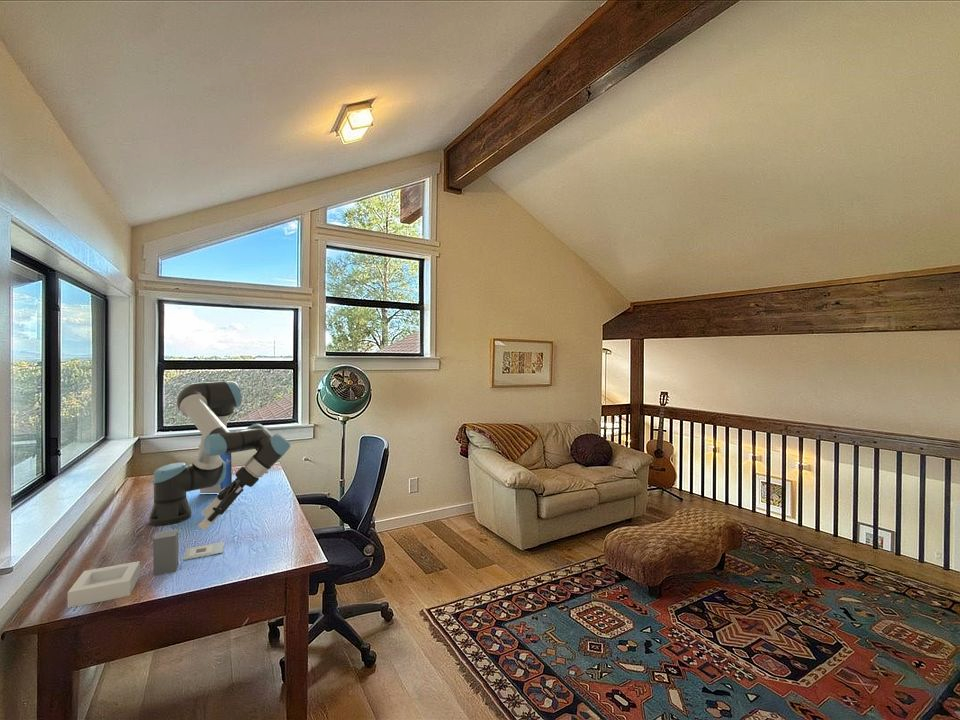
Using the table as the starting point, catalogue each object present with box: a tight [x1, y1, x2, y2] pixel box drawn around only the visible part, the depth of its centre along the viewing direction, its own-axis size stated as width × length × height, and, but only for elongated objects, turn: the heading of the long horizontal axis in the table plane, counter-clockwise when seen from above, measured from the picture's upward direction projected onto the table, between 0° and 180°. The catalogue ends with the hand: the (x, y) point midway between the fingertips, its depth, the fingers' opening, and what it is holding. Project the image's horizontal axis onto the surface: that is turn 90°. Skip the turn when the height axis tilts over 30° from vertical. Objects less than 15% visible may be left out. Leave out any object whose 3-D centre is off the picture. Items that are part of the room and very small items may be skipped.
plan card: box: [182, 541, 225, 561], centre depth 160 cm, size 10×12×1 cm
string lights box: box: [198, 444, 233, 494], centre depth 227 cm, size 13×8×26 cm, turn 84°
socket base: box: [67, 560, 141, 609], centre depth 133 cm, size 14×14×4 cm
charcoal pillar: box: [152, 528, 179, 577], centre depth 146 cm, size 6×6×12 cm
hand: (202, 521), depth 151 cm, fingers open, 13 cm apart
